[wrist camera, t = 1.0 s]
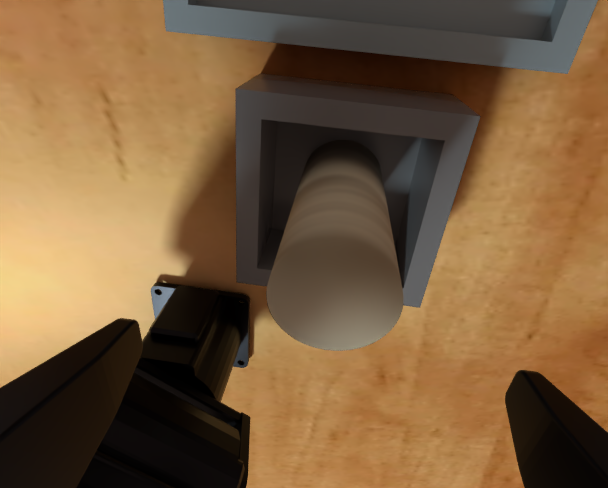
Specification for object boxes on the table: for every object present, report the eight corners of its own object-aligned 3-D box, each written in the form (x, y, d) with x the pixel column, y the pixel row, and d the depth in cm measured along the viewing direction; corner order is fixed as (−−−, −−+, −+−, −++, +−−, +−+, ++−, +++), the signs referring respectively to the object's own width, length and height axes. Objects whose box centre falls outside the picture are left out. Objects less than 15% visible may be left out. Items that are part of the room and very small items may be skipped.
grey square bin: (408, 257, 22) (419, 307, 18) (256, 237, 23) (236, 282, 19) (452, 94, 18) (480, 116, 14) (260, 73, 18) (235, 88, 14)
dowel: (373, 217, 21) (388, 358, 12) (300, 208, 21) (264, 340, 12) (388, 144, 19) (418, 252, 10) (307, 135, 19) (269, 233, 10)
